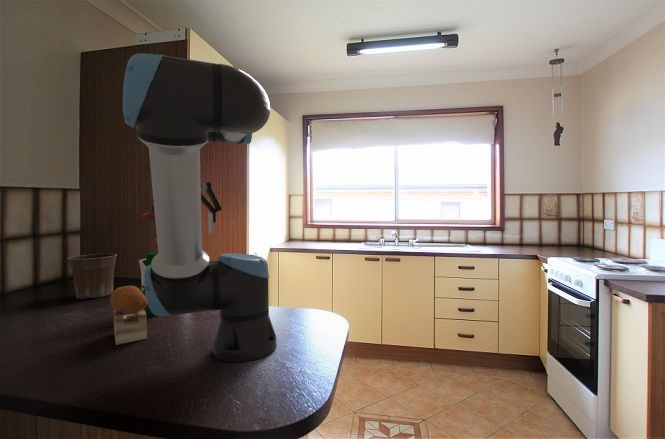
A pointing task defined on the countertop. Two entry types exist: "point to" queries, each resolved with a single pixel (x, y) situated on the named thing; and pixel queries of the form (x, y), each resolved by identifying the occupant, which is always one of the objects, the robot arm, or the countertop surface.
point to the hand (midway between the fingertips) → (188, 234)
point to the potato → (128, 299)
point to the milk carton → (143, 265)
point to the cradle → (130, 326)
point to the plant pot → (93, 275)
